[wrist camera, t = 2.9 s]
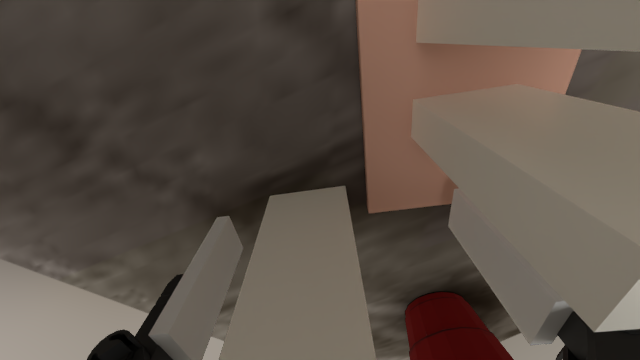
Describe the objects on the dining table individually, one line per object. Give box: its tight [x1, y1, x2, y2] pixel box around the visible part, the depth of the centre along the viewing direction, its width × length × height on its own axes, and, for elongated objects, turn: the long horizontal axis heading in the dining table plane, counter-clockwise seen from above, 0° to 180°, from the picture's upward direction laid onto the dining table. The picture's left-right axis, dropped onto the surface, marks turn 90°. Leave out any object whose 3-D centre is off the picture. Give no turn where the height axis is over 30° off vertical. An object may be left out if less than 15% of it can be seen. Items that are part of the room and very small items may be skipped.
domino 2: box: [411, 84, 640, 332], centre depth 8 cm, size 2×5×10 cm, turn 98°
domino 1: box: [219, 186, 376, 360], centre depth 12 cm, size 2×5×10 cm, turn 99°
